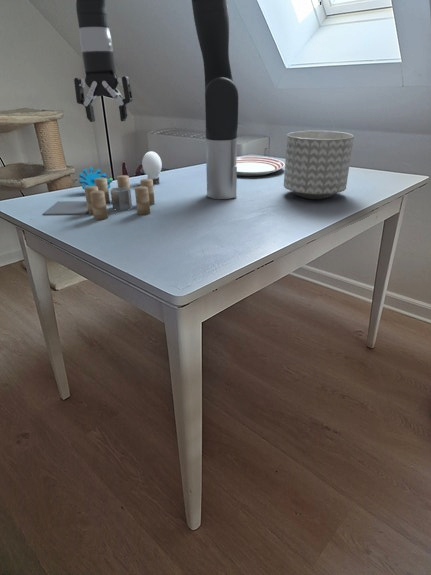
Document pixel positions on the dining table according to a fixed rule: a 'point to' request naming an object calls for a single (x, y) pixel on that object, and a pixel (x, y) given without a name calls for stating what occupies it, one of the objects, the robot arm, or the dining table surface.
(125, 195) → the grey block
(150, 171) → the light bulb
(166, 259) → the dining table surface
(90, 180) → the gear
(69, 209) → the mat
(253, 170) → the dinner plate
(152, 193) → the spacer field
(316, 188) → the planter
